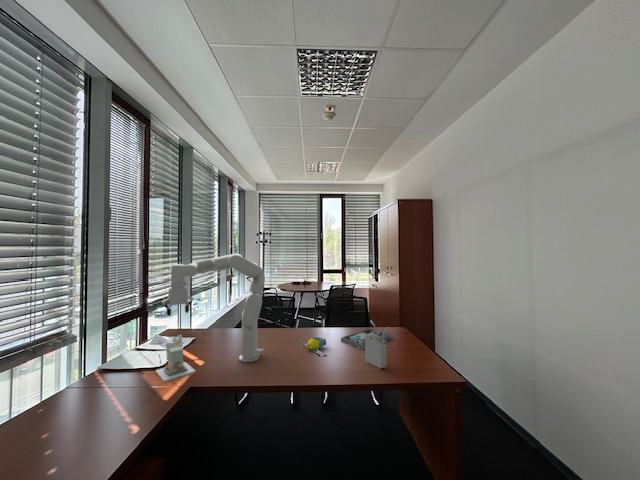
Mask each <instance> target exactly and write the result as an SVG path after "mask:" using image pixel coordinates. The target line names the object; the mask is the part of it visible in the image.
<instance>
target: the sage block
mask: <svg viewBox="0 0 640 480" xmlns="http://www.w3.org/2000/svg"><path fill="white" fill-rule="evenodd" d="M168 360H169V361H170V362H171V363H174V362H177V361H181V360H183V361H184V349H183V347H182V348H181V347H180V346H179V347H174V348H170V349H168Z"/></svg>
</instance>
